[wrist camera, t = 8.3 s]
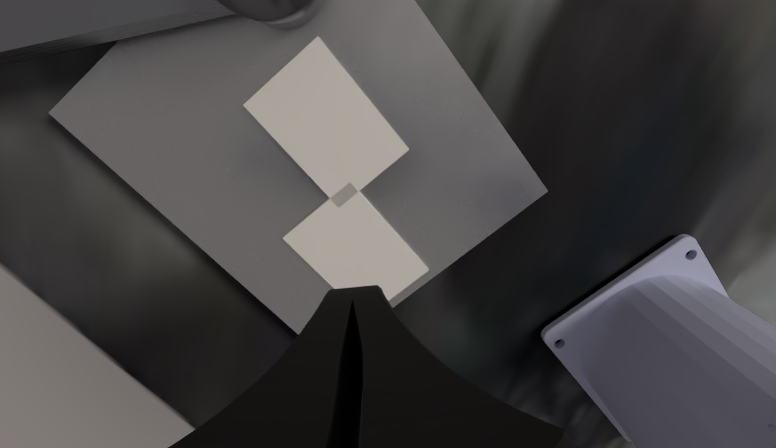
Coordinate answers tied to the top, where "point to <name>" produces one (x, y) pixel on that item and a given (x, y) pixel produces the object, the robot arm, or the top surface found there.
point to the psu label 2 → (355, 246)
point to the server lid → (274, 165)
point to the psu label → (326, 122)
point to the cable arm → (124, 20)
